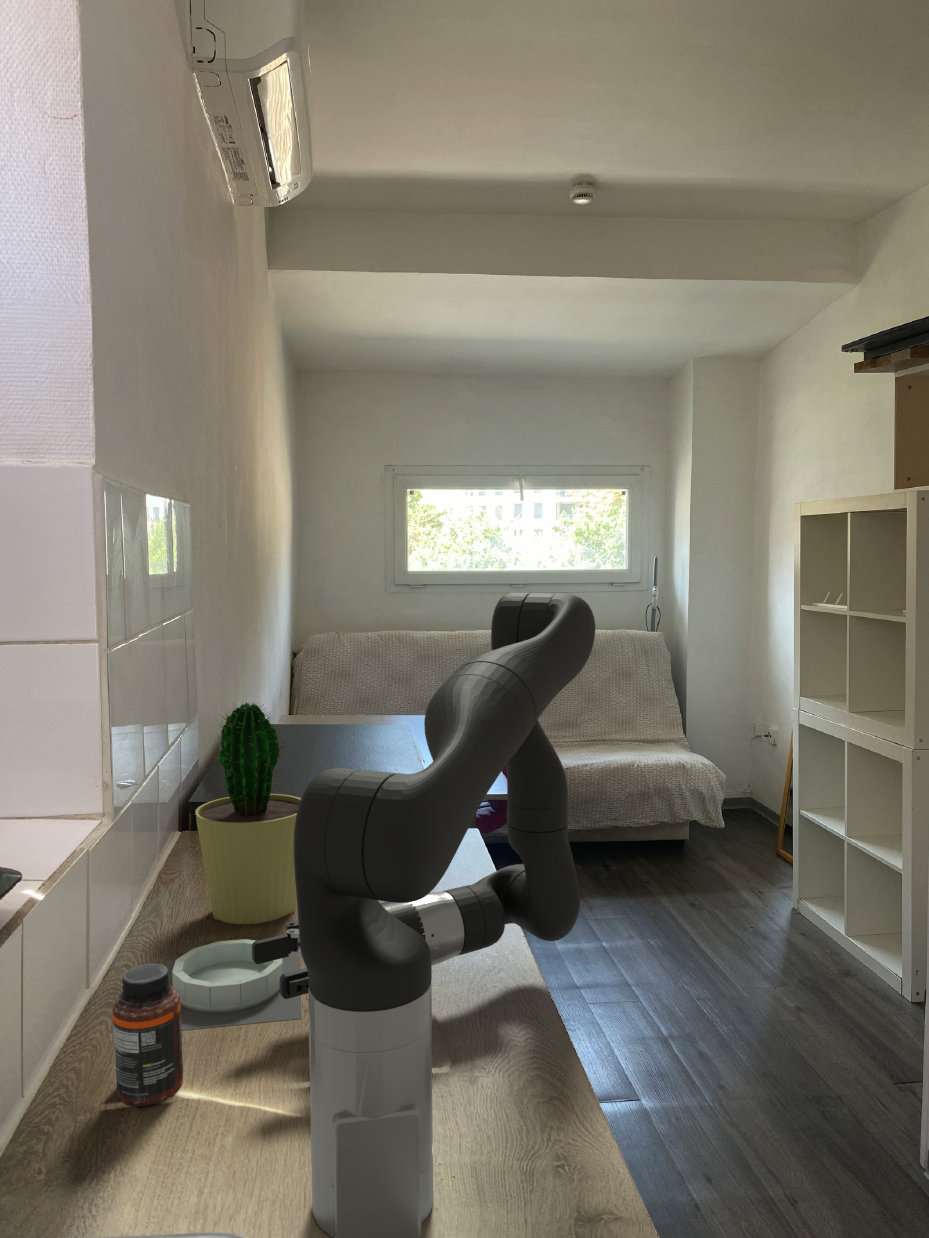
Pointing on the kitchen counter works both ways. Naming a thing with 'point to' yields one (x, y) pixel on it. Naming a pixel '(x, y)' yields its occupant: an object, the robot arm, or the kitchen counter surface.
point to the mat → (260, 1013)
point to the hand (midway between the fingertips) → (266, 969)
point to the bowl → (225, 977)
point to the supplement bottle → (147, 1037)
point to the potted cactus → (249, 826)
